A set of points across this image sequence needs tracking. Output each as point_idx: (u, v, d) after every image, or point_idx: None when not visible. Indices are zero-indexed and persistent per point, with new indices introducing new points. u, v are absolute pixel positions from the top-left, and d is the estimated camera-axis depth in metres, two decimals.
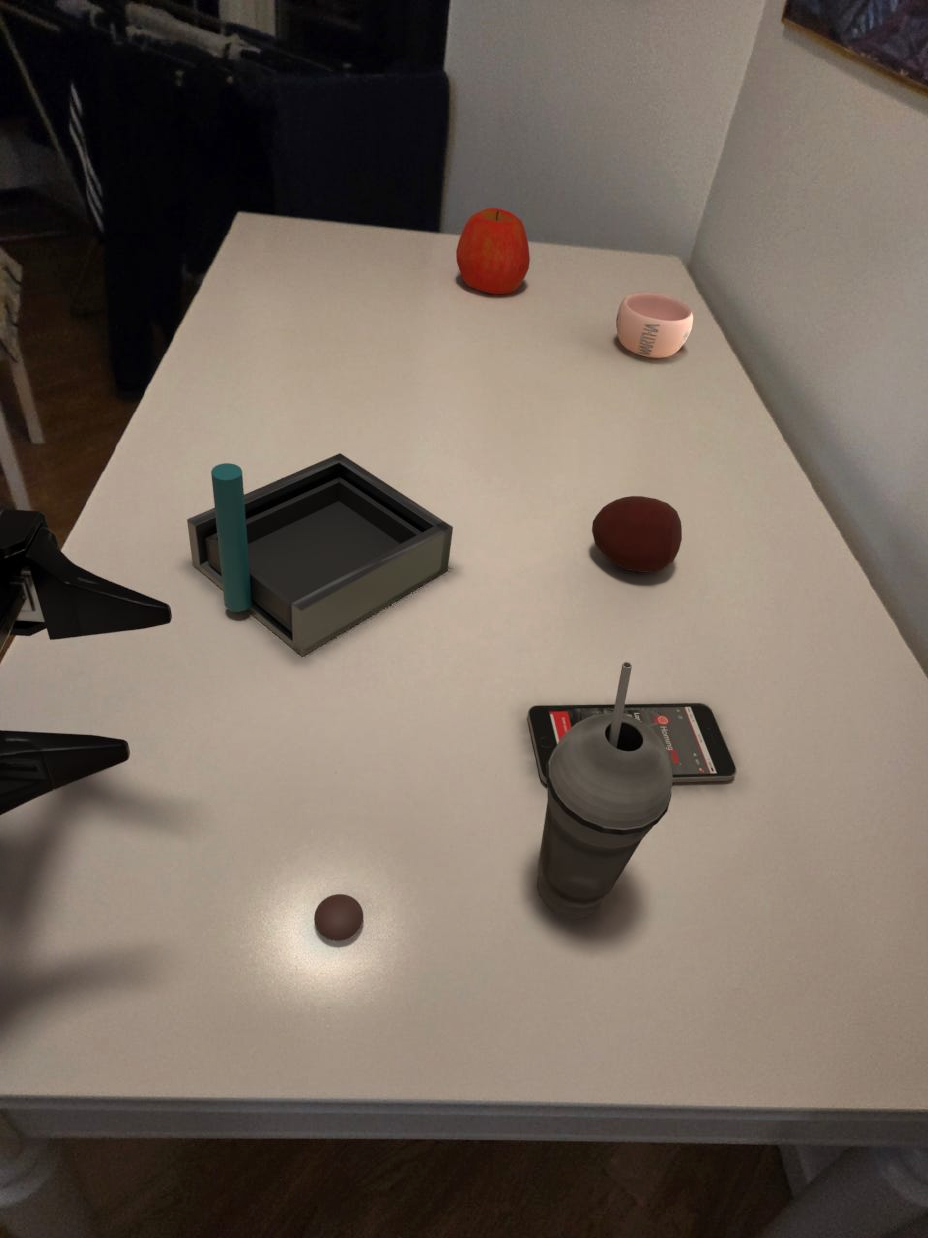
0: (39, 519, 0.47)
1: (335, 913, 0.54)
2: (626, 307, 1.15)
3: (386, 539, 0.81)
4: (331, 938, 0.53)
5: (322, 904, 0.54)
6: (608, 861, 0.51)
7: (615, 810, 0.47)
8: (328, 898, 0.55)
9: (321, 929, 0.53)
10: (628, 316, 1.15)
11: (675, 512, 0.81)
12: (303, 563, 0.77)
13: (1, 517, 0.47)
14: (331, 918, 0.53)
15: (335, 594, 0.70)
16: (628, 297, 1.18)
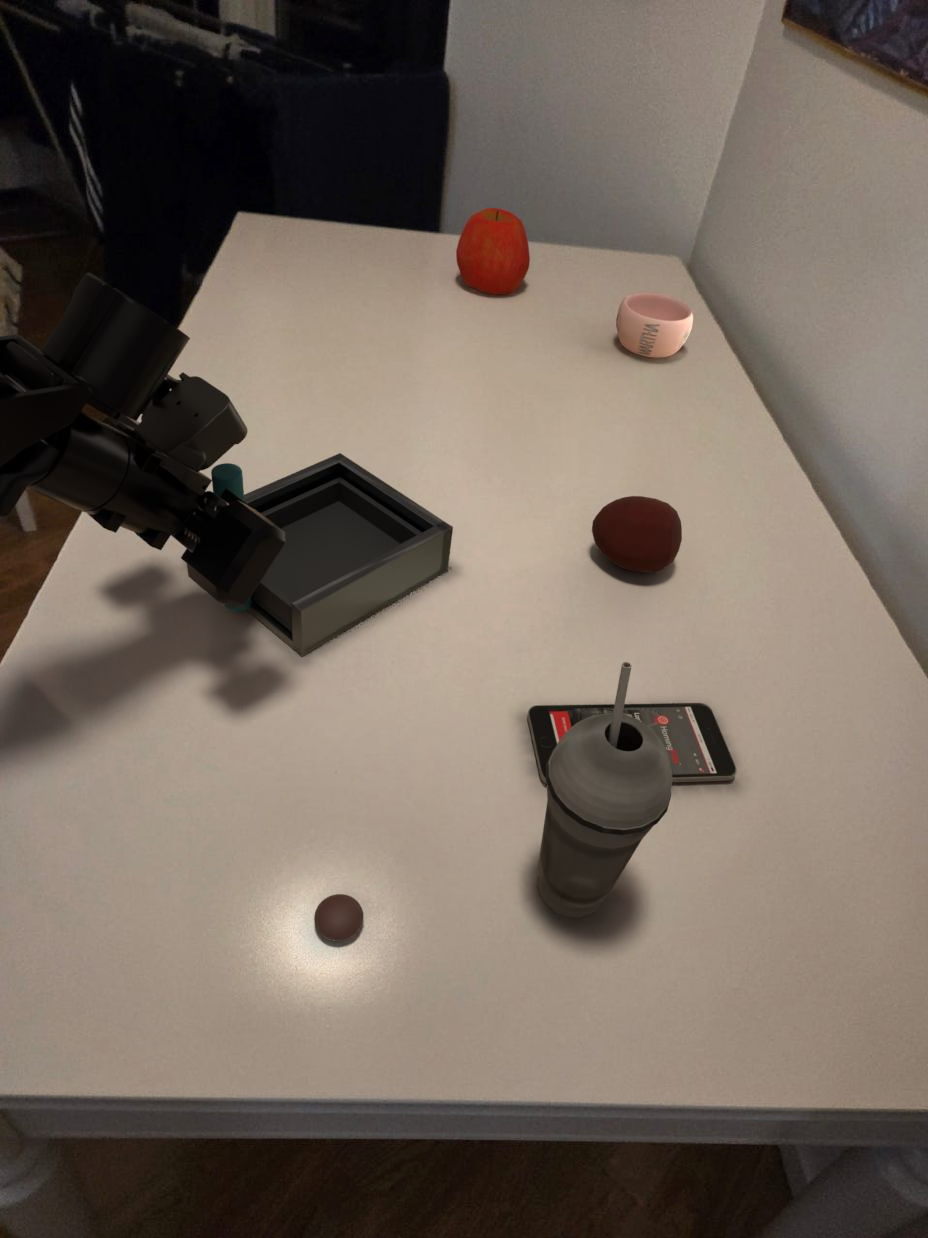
0: None
1: (335, 913, 0.54)
2: (626, 307, 1.15)
3: (386, 539, 0.81)
4: (331, 938, 0.53)
5: (322, 904, 0.54)
6: (608, 861, 0.51)
7: (615, 810, 0.47)
8: (328, 898, 0.55)
9: (321, 929, 0.53)
10: (628, 316, 1.15)
11: (675, 512, 0.81)
12: (303, 563, 0.77)
13: (127, 417, 0.65)
14: (331, 918, 0.53)
15: (335, 594, 0.70)
16: (628, 297, 1.18)
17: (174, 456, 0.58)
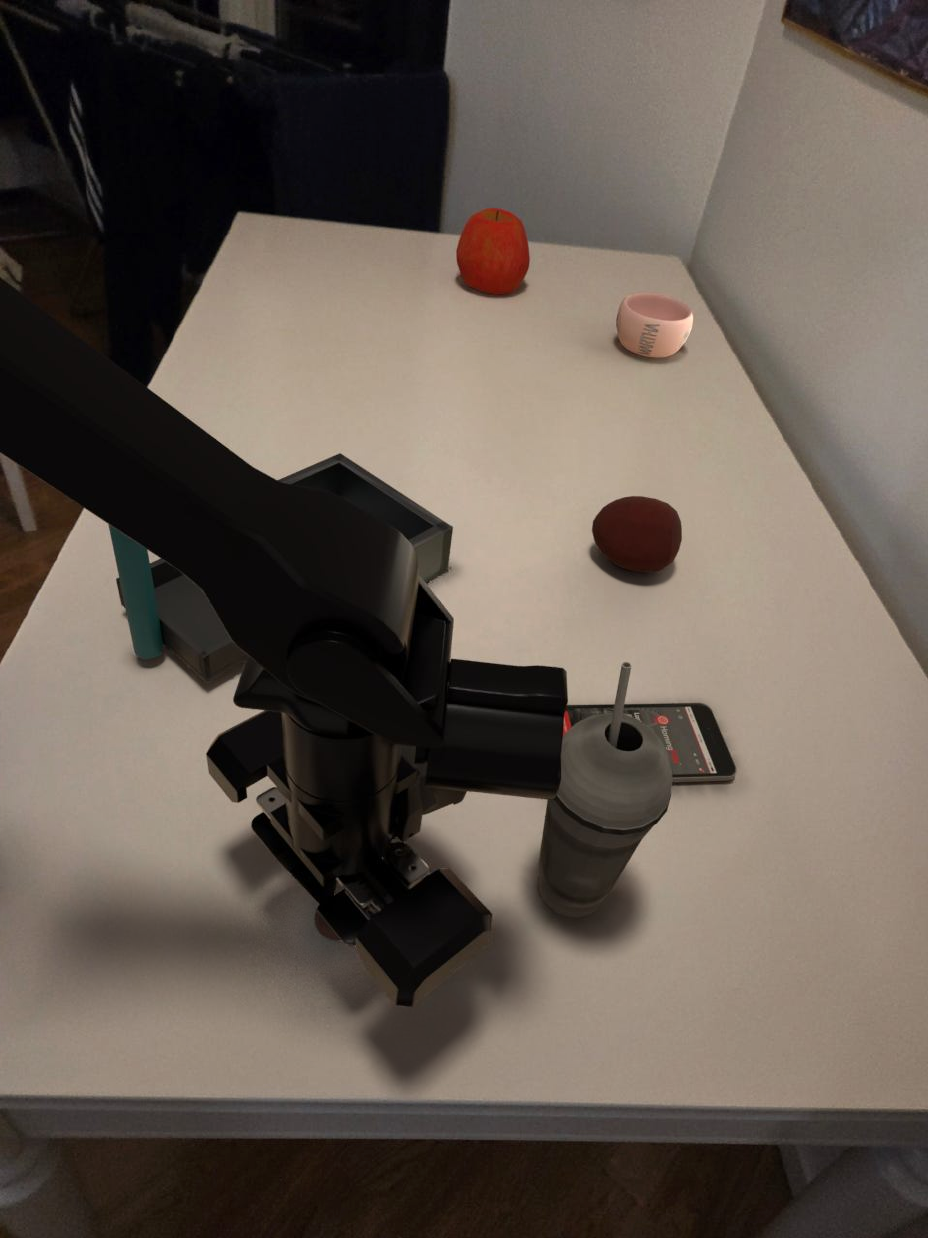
0: None
1: None
2: (626, 307, 1.15)
3: None
4: (331, 938, 0.53)
5: None
6: (608, 861, 0.51)
7: (615, 810, 0.47)
8: (328, 898, 0.55)
9: (321, 929, 0.53)
10: (628, 316, 1.15)
11: (675, 512, 0.81)
12: None
13: None
14: None
15: None
16: (628, 297, 1.18)
17: None
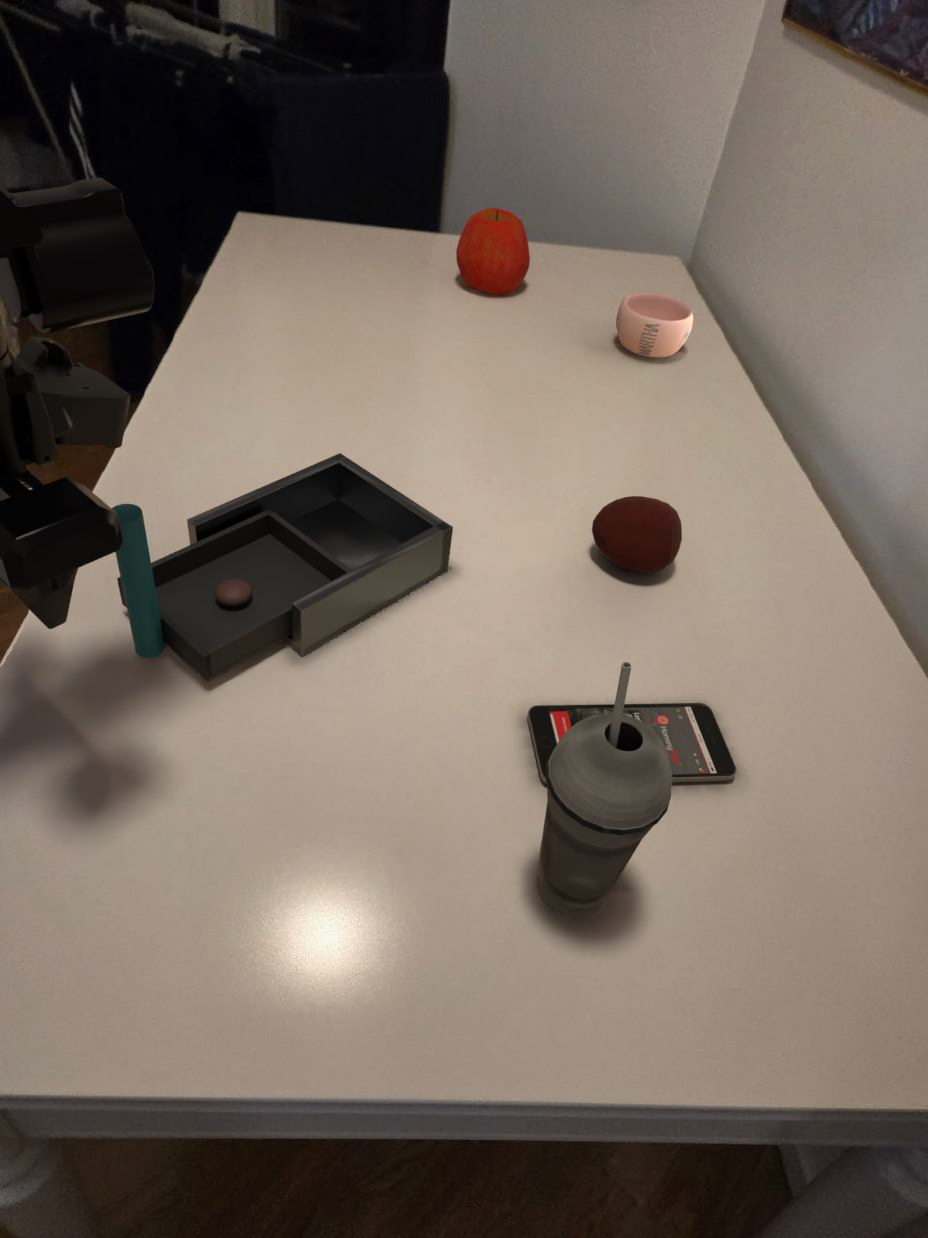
0: None
1: (230, 586, 0.72)
2: (626, 307, 1.15)
3: (316, 576, 0.76)
4: (227, 603, 0.71)
5: (220, 583, 0.72)
6: (608, 861, 0.51)
7: (615, 810, 0.47)
8: None
9: (219, 597, 0.71)
10: (628, 316, 1.15)
11: (675, 512, 0.81)
12: None
13: None
14: (227, 589, 0.71)
15: (335, 594, 0.70)
16: (628, 297, 1.18)
17: (42, 401, 0.47)
